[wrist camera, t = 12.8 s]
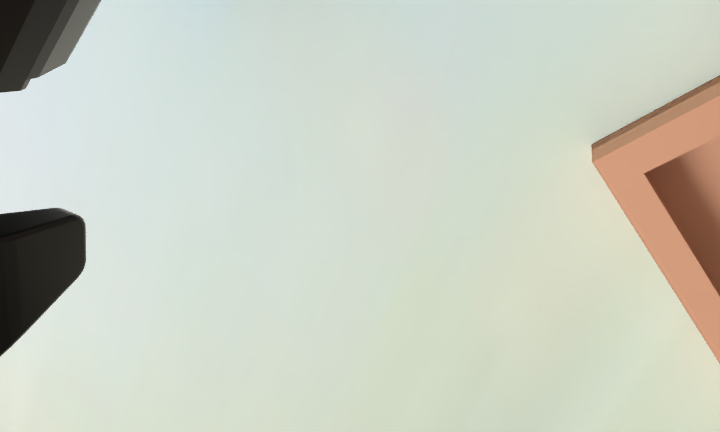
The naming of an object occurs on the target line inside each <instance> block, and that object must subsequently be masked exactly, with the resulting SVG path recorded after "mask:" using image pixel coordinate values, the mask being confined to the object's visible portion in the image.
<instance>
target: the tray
mask: <svg viewBox="0 0 720 432" xmlns="http://www.w3.org/2000/svg"><path fill="white" fill-rule="evenodd" d="M592 162H593V164H594V165H595V167H596V169H597V170H598V172H599V173H600V175H601V177H602V178H603V180H604V181H605V183H606V184H607V186H608V188H609V189H610V191H611V192H612V194H613V196H614V197H615V199H616V200H617V202H618V203H619V205H620V207H621V208H622V210H623V211H624V213H625V215H626V216H627V218H628V219H629V221H630V222H631V224H632V226H633V227H634V229H635V230H636V232H637V234H638V235H639V237H640V238H641V240H642V241H643V243H644V245H645V246H646V248H647V249H648V251H649V253H650V254H651V256H652V257H653V259H654V260H655V262H656V264H657V265H658V267H659V268H660V270H661V271H662V273H663V275H664V276H665V278H666V279H667V281H668V283H669V284H670V286H671V287H672V289H673V290H674V292H675V294H676V295H677V297H678V298H679V300H680V302H681V303H682V305H683V306H684V308H685V309H686V311H687V313H688V314H689V316H690V317H691V319H692V321H693V322H694V324H695V325H696V327H697V328H698V330H699V332H700V333H701V335H702V336H703V338H704V340H705V341H706V343H707V344H708V346H709V347H710V349H711V351H712V352H713V354H714V355H715V357H716V358H717V360H718V362H719V363H720V76H718V77H716V78H714V79H712V80H711V81H709V82H707V83H705V84H703V85H701V86H699V87H698V88H696V89H694V90H692V91H690V92H688V93H686V94H685V95H683V96H681V97H679V98H677V99H675V100H673V101H672V102H670V103H668V104H666V105H664V106H662V107H660V108H659V109H657V110H655V111H653V112H651V113H649V114H648V115H646V116H644V117H642V118H640V119H638V120H636V121H635V122H633V123H631V124H629V125H627V126H625V127H623V128H622V129H620V130H618V131H616V132H614V133H612V134H610V135H609V136H607V137H605V138H603V139H601V140H599V141H597V142H596V143H594V144H592Z"/></svg>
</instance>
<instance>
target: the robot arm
mask: <svg viewBox="0 0 720 432" xmlns="http://www.w3.org/2000/svg"><path fill="white" fill-rule="evenodd" d="M100 2H101V0H0V92H10V91H21V90H23V89H25V88H26V87H27V85H28V83H29V81H30V79H32V78H37V77H40V76H42V75H44V74H45V73H47V72H49V71H51V70H53V69H55V68H57V67H59V66H61V65H63V64H65V63H66V61H67V60H68V58H69V56H70V55H71V53H72V51H73V50H74V48H75V46H76V44H77V43H78V41H79V39H80V37H81V36H82V34H83V32H84V30H85V28H86V27H87V25H88V23H89V21H90V19H91V18H92V16H93V14H94V12H95V11H96V9H97V7H98V5H99V3H100ZM85 262H86V229H85V222H84V220H83V218H81V217H80V216H79V215H77V214H74V213H72V212H69V211H67V210H64V209H61V208H49V209H41V210H32V211H23V212H14V213H5V214H0V356H1V355H3V354H4V353H5V352H6V351H7V350H8V349H9V348H10V347H11V346H12V345H13V344H14V343H15V342H16V341H17V340H18V339H19V338H20V337H21V336H22V335H23V334H24V333H25V332H26V331H27V330H28V329H29V328H30V327H31V326H32V325H33V324H34V323H35V322H36V321H37V320H38V319H39V318H40V317H41V316H42V314H43V313H44V312H45V311H46V310H47V309H48V308H49V307H50V306H51V305H52V304H53V303H54V302H55V301H56V300H57V299H58V298H59V297H60V296H61V295H62V294H63V292H64V291H65V290H66V289H67V288H68V287H69V286H70V285H71V284H72V283H73V282H74V281H75V280H76V279H77V278H78V277H79V275H80V274H81V272H82V271H83V269H84V266H85Z"/></svg>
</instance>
